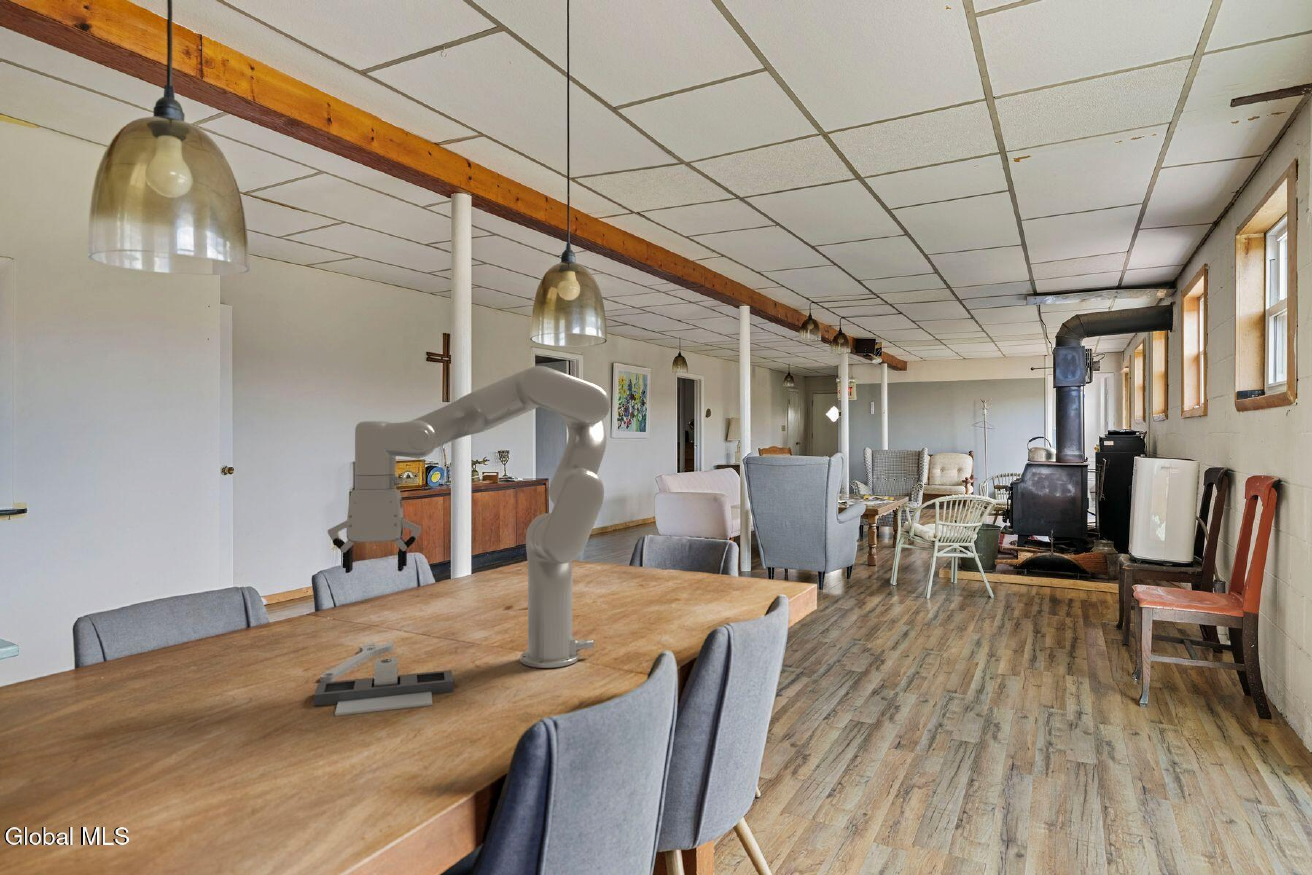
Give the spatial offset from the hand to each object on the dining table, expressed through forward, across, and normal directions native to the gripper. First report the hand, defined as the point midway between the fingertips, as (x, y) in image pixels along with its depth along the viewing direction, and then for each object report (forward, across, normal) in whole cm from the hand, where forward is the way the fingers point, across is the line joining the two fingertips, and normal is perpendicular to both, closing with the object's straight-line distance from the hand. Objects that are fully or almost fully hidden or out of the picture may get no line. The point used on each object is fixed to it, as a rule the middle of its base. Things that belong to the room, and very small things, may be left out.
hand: (375, 570), depth 142 cm
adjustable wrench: (+22, +7, -14) cm, 27 cm away
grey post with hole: (+22, -3, +7) cm, 23 cm away
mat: (+22, -4, +13) cm, 26 cm away
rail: (+22, -3, +7) cm, 23 cm away
